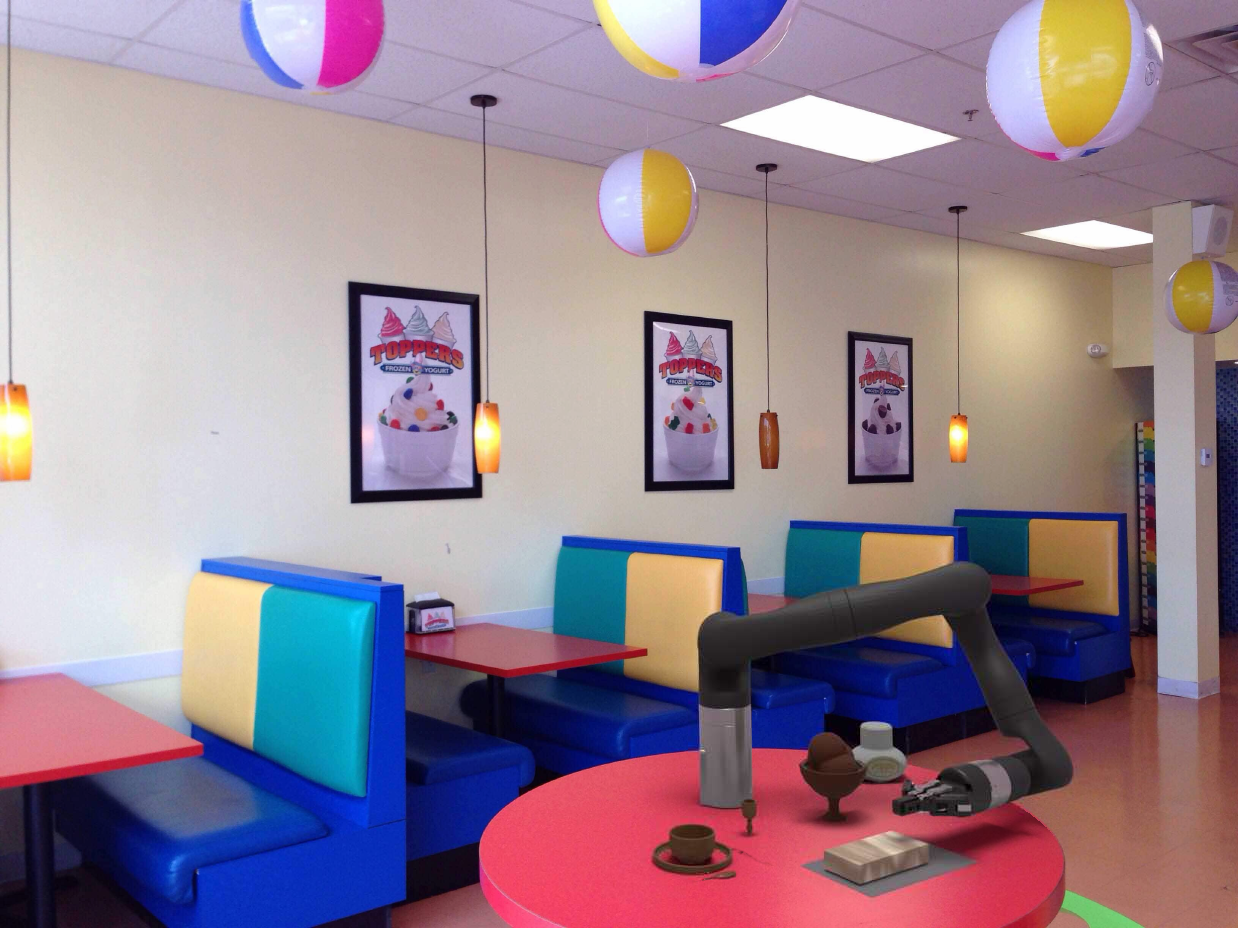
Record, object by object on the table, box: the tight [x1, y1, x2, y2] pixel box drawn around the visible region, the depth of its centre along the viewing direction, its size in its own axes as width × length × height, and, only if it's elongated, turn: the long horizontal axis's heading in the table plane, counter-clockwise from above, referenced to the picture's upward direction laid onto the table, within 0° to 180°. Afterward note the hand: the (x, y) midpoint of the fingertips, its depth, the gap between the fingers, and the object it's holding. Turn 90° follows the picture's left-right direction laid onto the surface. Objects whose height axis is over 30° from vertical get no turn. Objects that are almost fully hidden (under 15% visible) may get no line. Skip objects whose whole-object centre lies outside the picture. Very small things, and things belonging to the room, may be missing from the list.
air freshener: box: [852, 721, 908, 783], centre depth 194 cm, size 11×8×10 cm
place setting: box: [652, 798, 758, 881], centre depth 156 cm, size 18×20×6 cm
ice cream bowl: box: [798, 731, 867, 823], centre depth 170 cm, size 11×11×15 cm
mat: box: [799, 834, 979, 898], centre depth 149 cm, size 22×14×1 cm, turn 122°
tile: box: [823, 830, 930, 885], centre depth 148 cm, size 3×7×14 cm
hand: (896, 808), depth 150 cm, fingers closed
